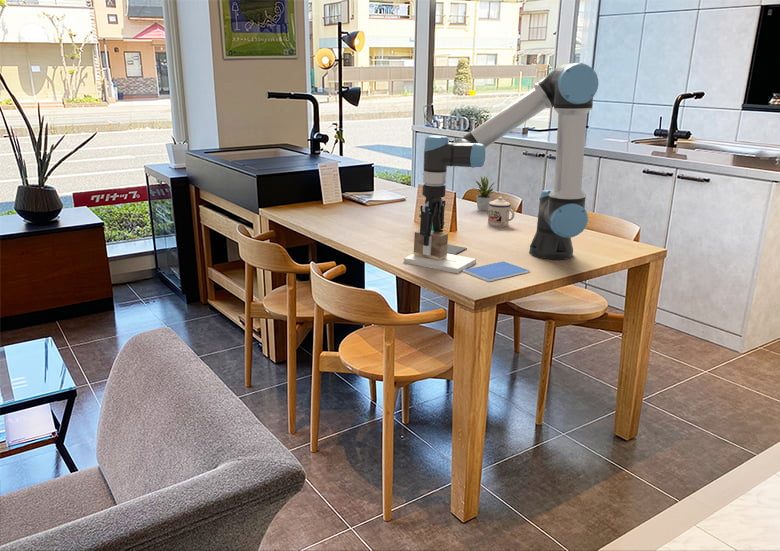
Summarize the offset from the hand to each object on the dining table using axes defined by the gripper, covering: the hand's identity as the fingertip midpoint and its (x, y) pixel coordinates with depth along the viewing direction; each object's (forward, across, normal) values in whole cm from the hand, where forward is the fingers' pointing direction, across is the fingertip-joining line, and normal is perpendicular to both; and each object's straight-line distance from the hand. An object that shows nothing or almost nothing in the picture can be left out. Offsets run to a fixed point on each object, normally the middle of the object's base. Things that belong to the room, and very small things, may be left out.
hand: (430, 252), depth 213 cm
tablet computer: (+4, -2, +23) cm, 24 cm away
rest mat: (+3, -16, -3) cm, 17 cm away
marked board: (+3, 0, +4) cm, 5 cm away
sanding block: (+1, 0, 0) cm, 1 cm away
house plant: (+3, -89, -21) cm, 92 cm away
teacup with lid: (+3, -65, -1) cm, 65 cm away
